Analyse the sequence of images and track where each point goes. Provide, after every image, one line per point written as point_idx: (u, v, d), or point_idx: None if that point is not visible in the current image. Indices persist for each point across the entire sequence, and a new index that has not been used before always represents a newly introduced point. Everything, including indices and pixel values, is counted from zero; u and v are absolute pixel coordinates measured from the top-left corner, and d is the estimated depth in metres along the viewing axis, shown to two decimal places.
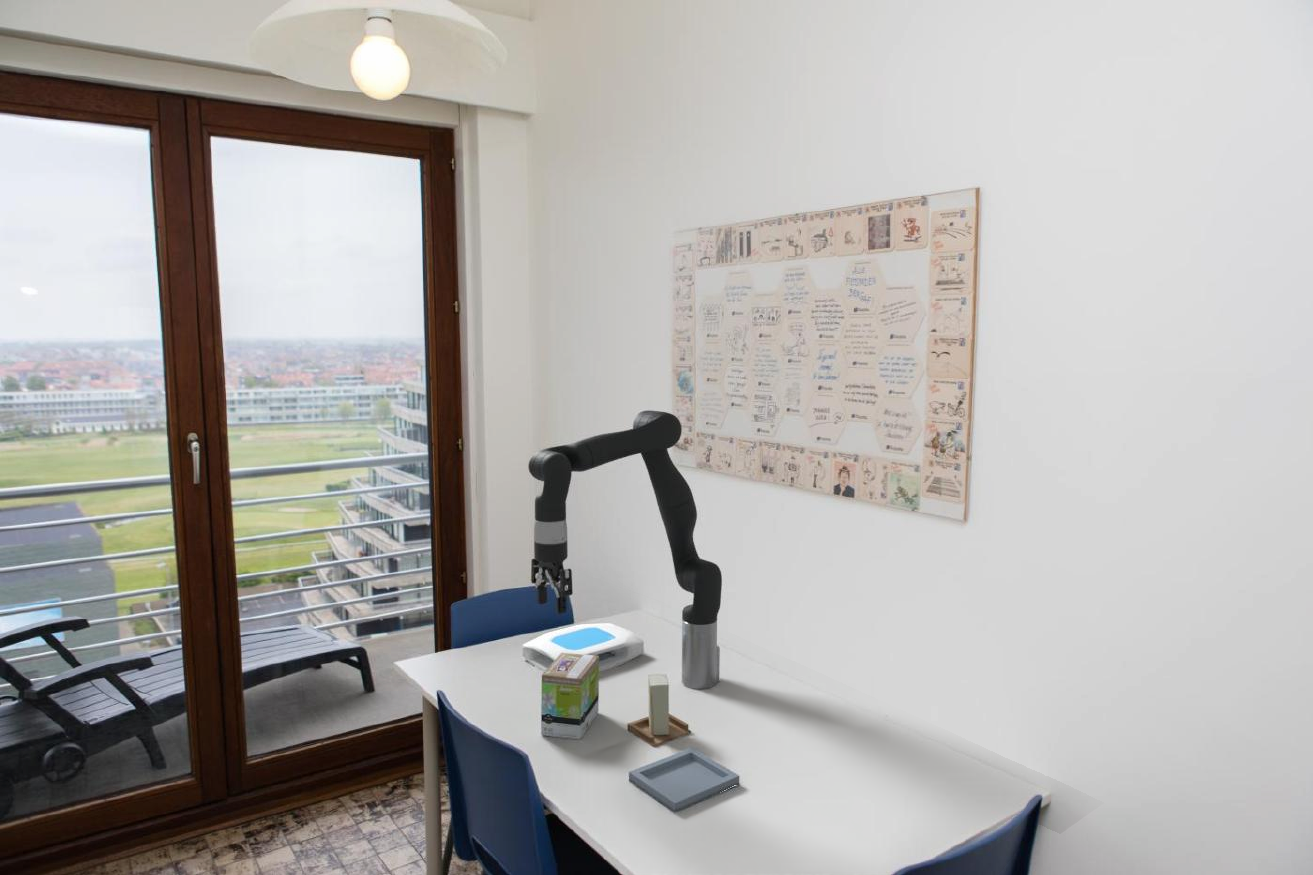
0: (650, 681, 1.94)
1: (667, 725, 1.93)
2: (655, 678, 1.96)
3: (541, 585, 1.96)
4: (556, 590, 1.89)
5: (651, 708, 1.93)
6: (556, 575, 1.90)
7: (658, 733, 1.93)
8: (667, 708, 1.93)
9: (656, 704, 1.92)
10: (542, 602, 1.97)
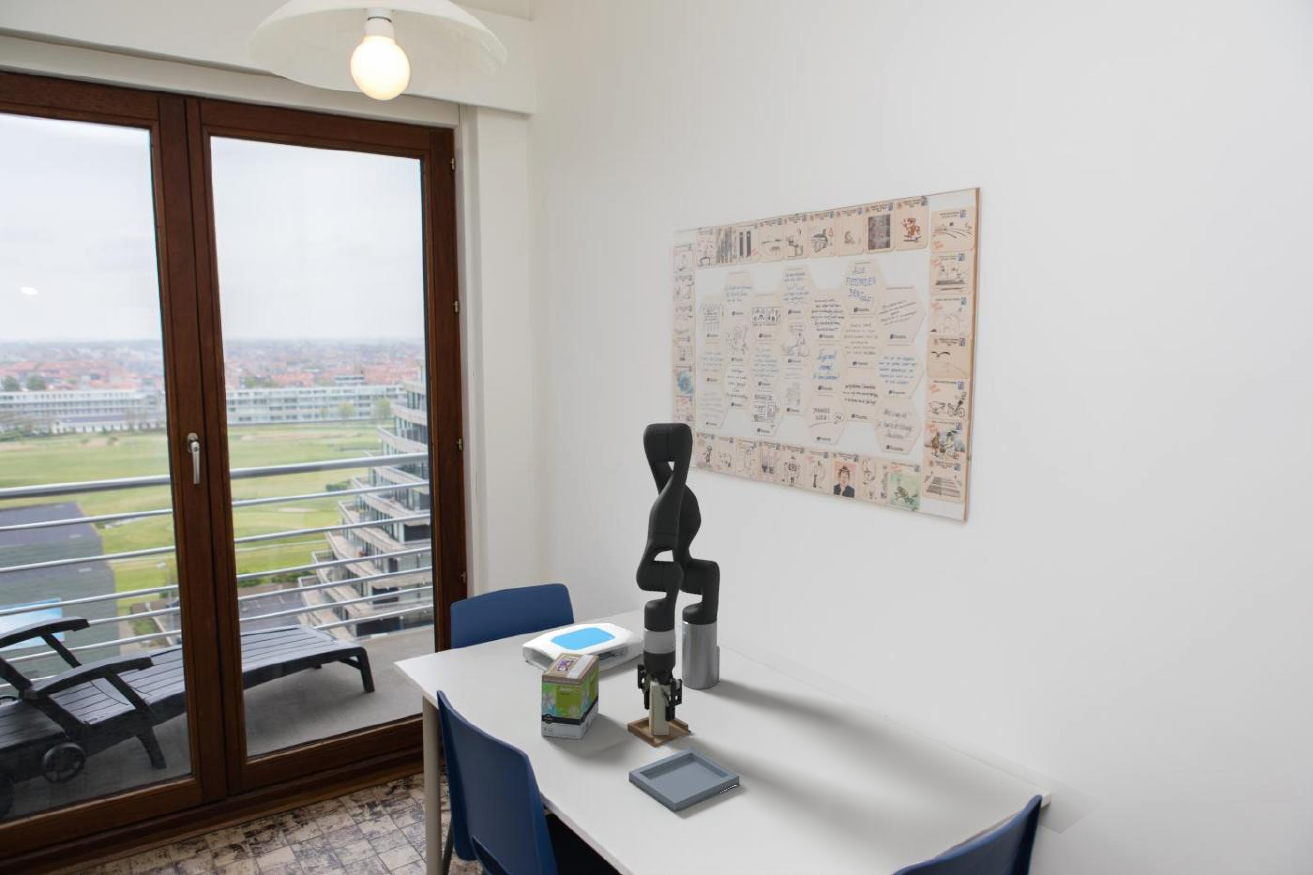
0: (652, 681, 1.94)
1: (667, 725, 1.93)
2: None
3: (648, 691, 1.98)
4: (665, 699, 1.92)
5: (652, 708, 1.93)
6: (666, 684, 1.92)
7: (658, 733, 1.93)
8: None
9: (657, 704, 1.92)
10: None
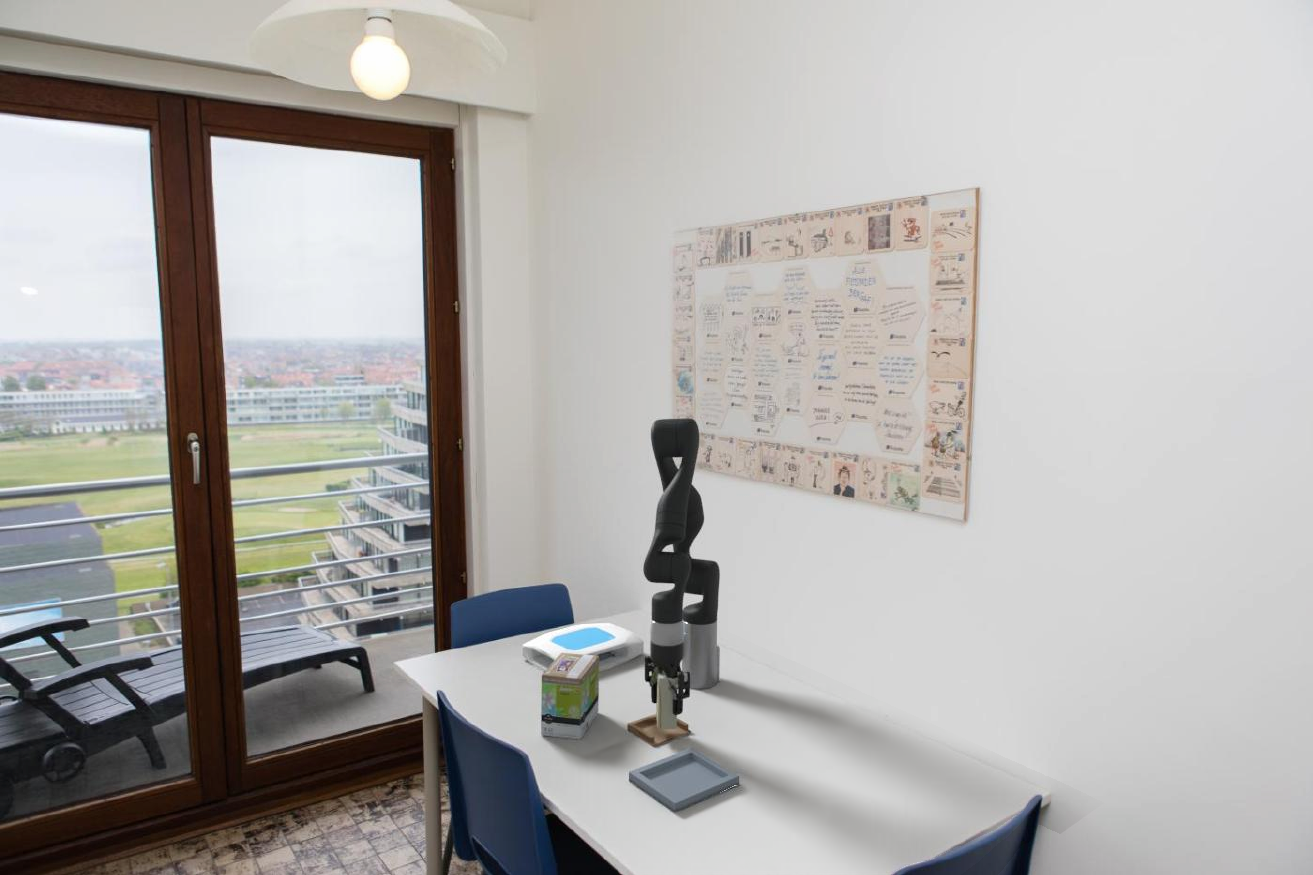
0: (659, 674, 1.91)
1: (675, 719, 1.91)
2: None
3: (656, 684, 1.96)
4: (673, 692, 1.89)
5: (659, 701, 1.90)
6: (673, 677, 1.89)
7: (665, 727, 1.91)
8: None
9: (664, 697, 1.90)
10: (656, 701, 1.96)
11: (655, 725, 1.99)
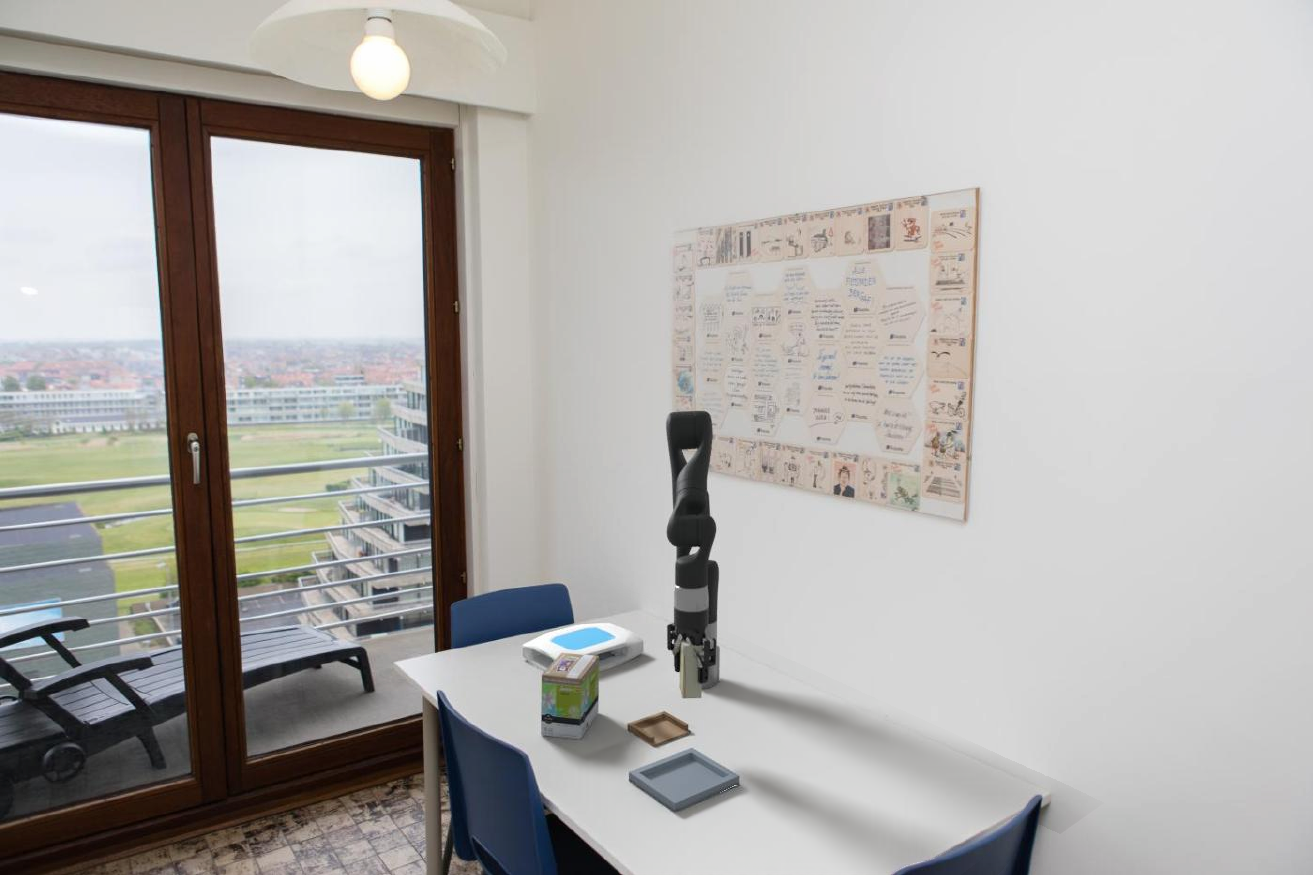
0: (683, 642, 1.84)
1: (700, 688, 1.83)
2: None
3: (679, 652, 1.88)
4: (698, 660, 1.82)
5: (684, 670, 1.83)
6: (699, 644, 1.82)
7: (690, 696, 1.84)
8: None
9: (689, 665, 1.82)
10: None
11: (655, 725, 1.99)
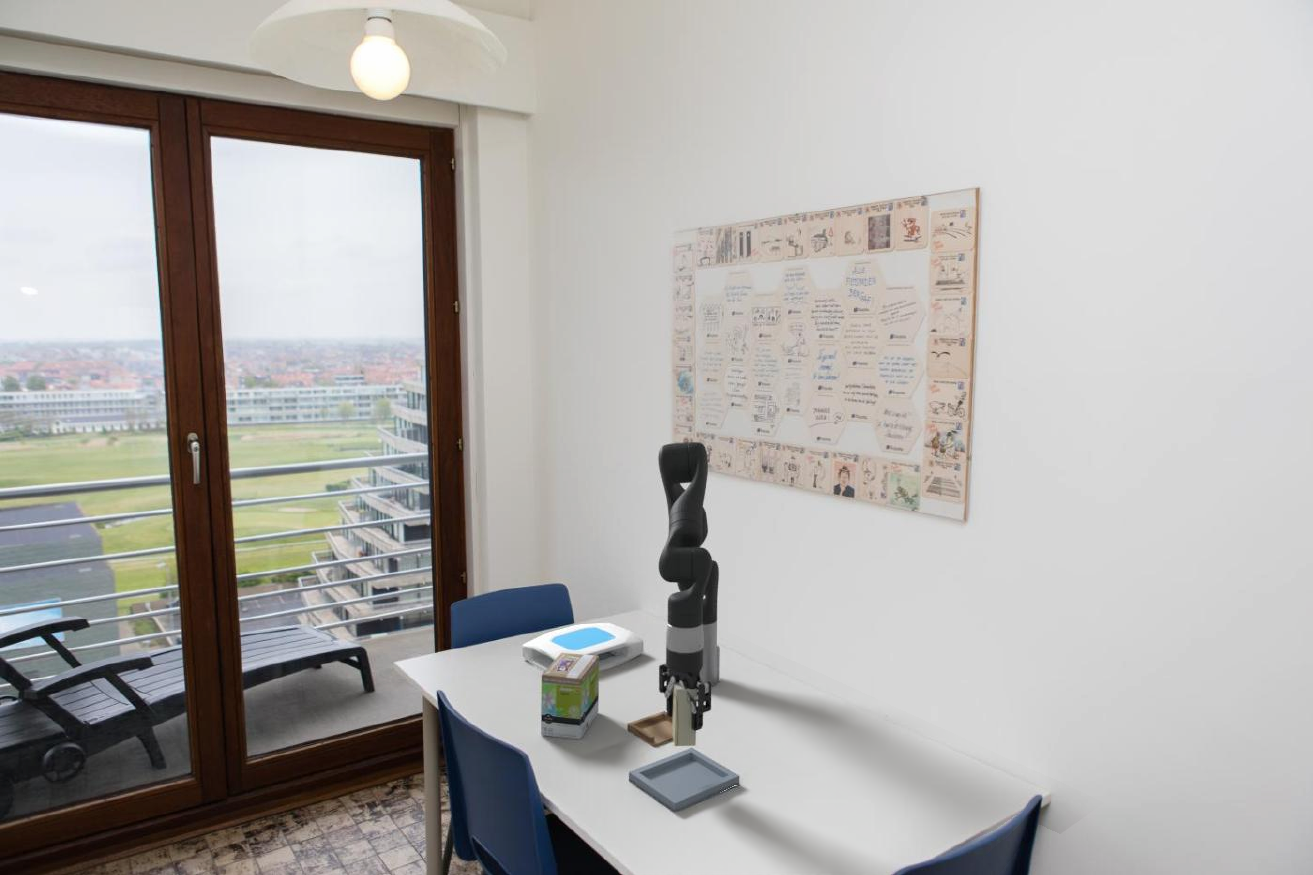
0: (676, 684, 1.71)
1: (694, 735, 1.70)
2: None
3: (671, 695, 1.75)
4: (692, 705, 1.68)
5: (676, 715, 1.69)
6: (693, 688, 1.68)
7: (683, 744, 1.70)
8: None
9: (682, 710, 1.69)
10: (672, 714, 1.75)
11: (655, 725, 1.99)
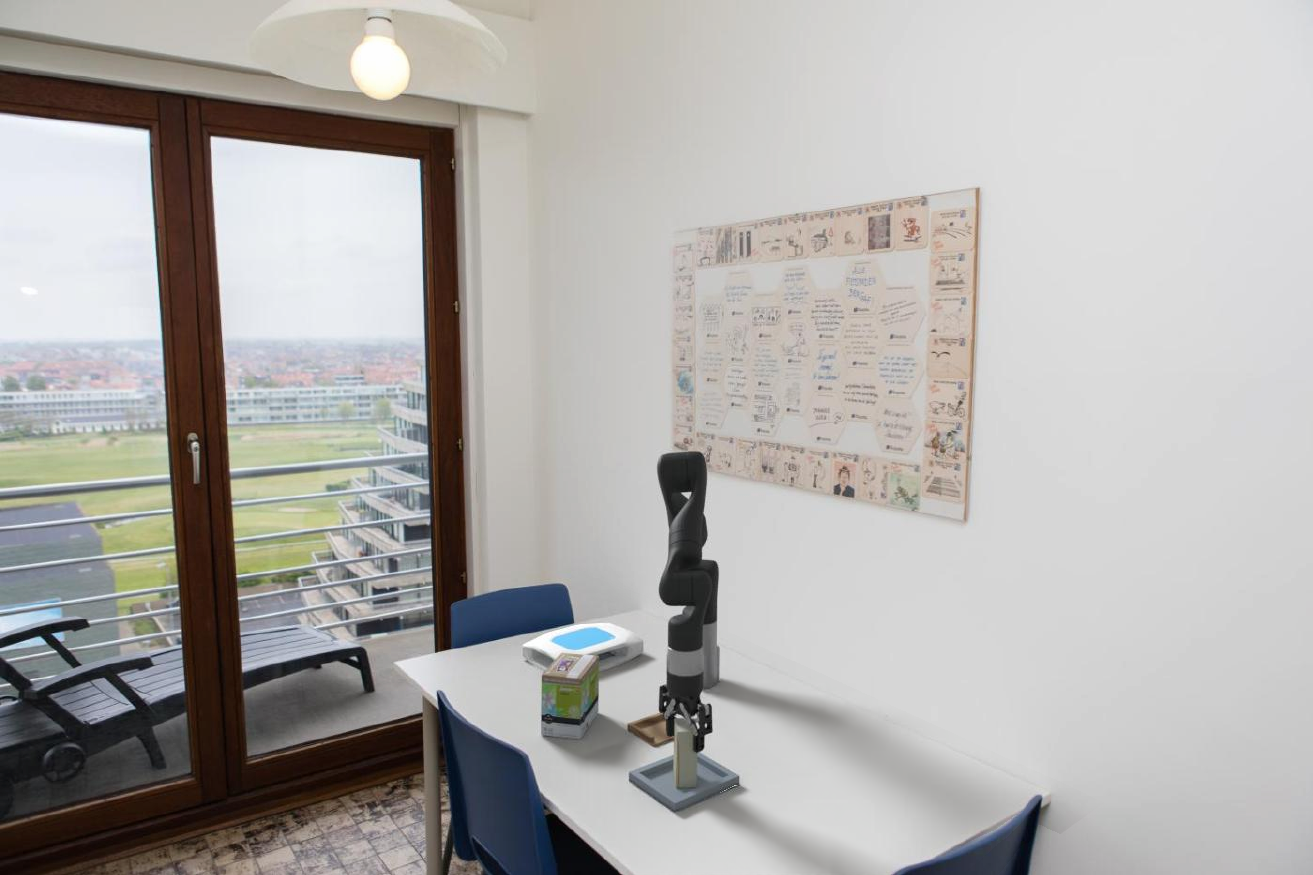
0: (677, 726, 1.71)
1: (695, 777, 1.71)
2: (682, 723, 1.73)
3: (671, 716, 1.76)
4: (693, 727, 1.68)
5: (677, 757, 1.70)
6: (693, 710, 1.69)
7: (684, 786, 1.71)
8: (695, 758, 1.70)
9: (683, 753, 1.70)
10: (672, 734, 1.76)
11: (655, 725, 1.99)
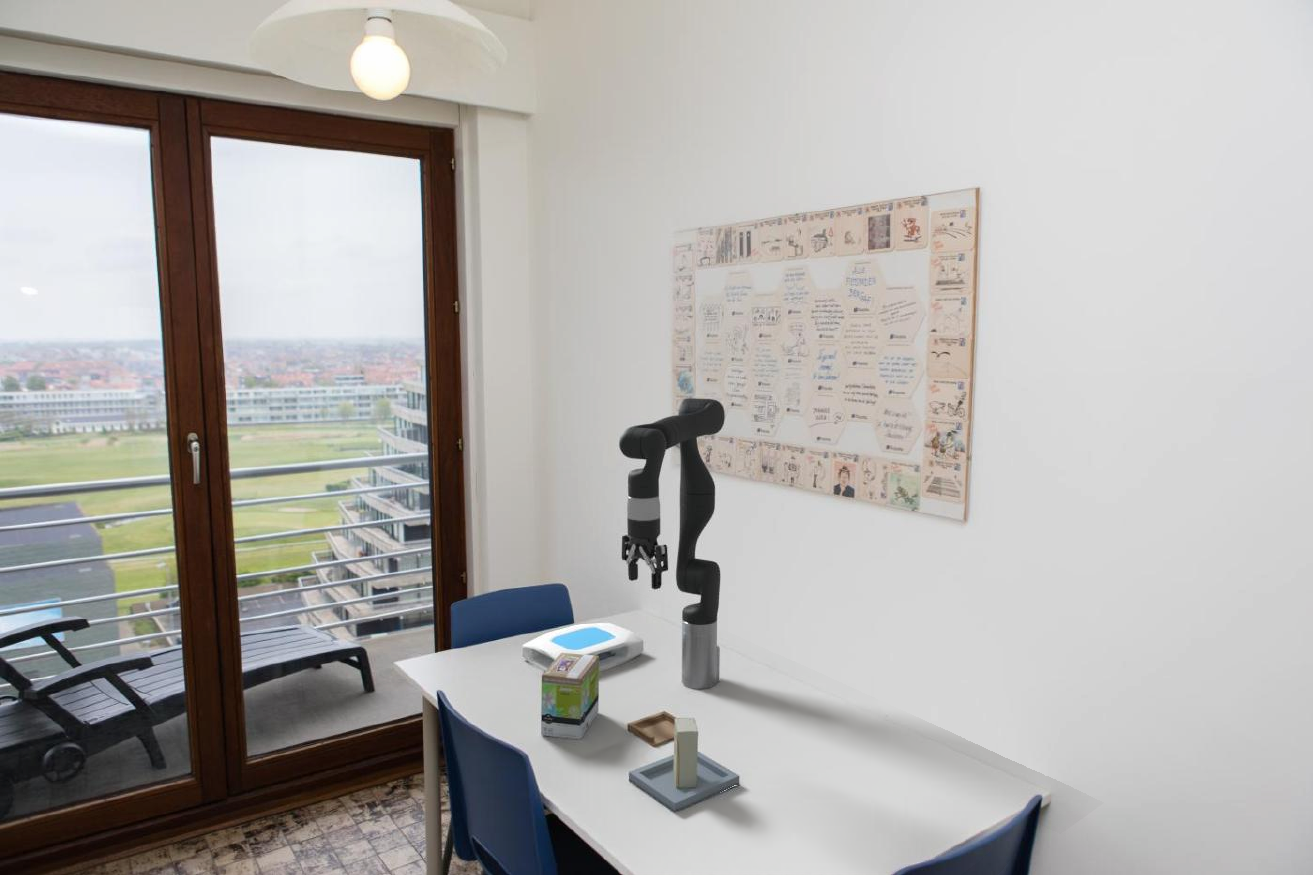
0: (677, 726, 1.71)
1: (695, 777, 1.71)
2: (683, 723, 1.73)
3: (632, 562, 1.97)
4: (651, 566, 1.90)
5: (677, 757, 1.70)
6: (651, 551, 1.90)
7: (684, 786, 1.71)
8: (695, 758, 1.70)
9: (683, 753, 1.70)
10: (633, 578, 1.98)
11: (655, 725, 1.99)
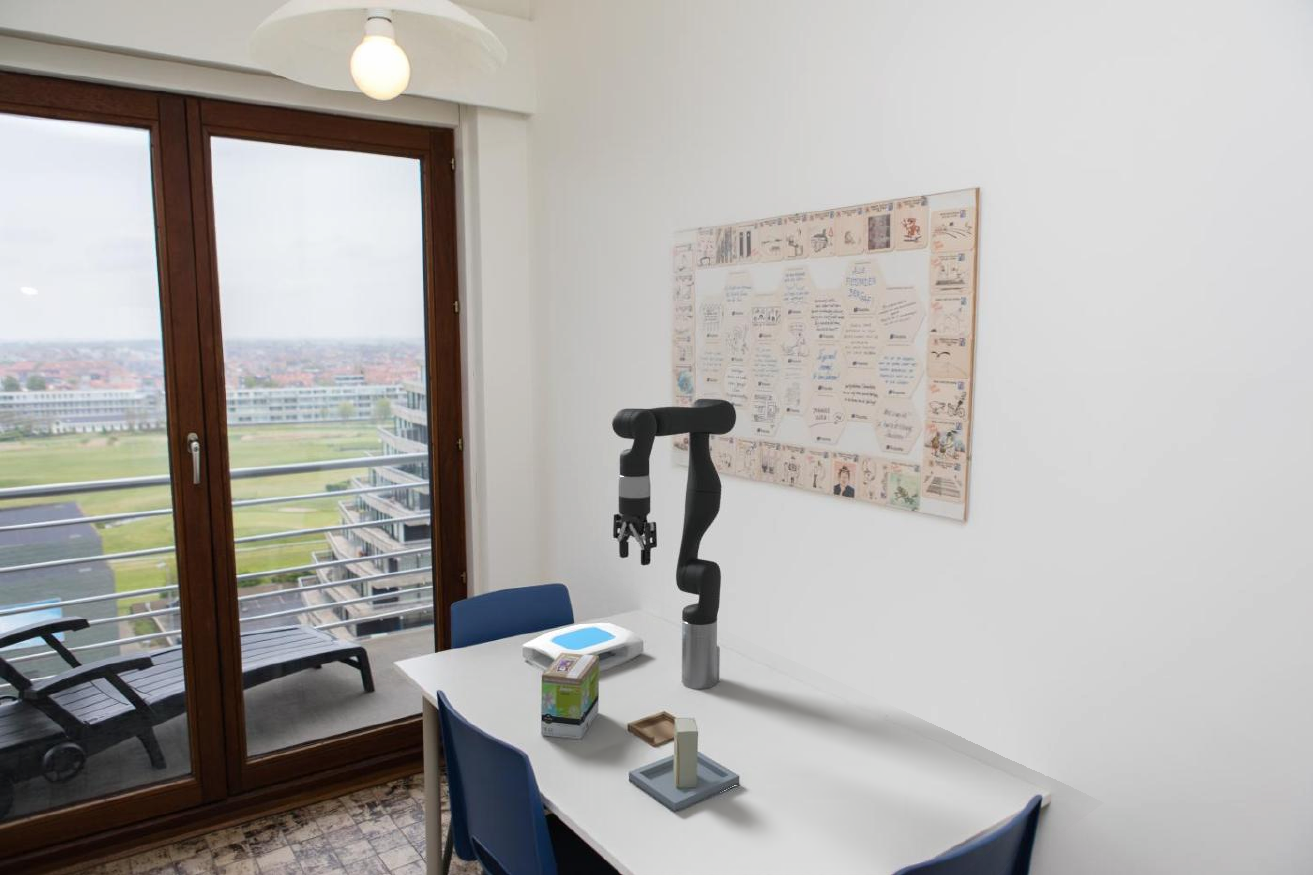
0: (677, 726, 1.71)
1: (695, 777, 1.71)
2: (683, 723, 1.73)
3: (623, 539, 2.04)
4: (641, 543, 1.97)
5: (677, 757, 1.70)
6: (641, 528, 1.97)
7: (684, 786, 1.71)
8: (695, 758, 1.70)
9: (683, 753, 1.70)
10: (624, 556, 2.04)
11: (655, 725, 1.99)
